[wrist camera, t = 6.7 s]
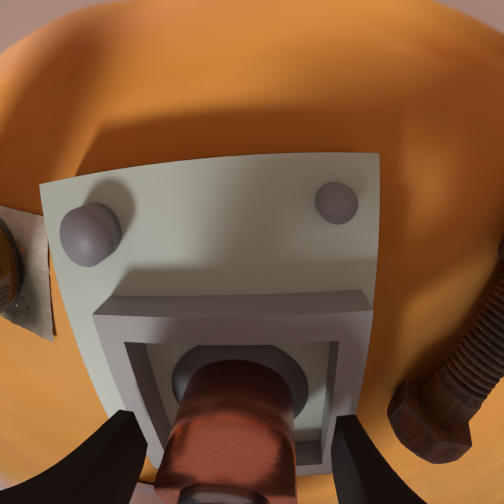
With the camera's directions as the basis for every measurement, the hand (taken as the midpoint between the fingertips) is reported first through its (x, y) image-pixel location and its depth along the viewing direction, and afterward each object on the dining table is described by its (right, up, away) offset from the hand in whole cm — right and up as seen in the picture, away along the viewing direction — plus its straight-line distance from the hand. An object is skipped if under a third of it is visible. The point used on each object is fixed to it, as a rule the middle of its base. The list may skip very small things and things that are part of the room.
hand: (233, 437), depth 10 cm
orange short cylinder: (0, 0, +2) cm, 2 cm away
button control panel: (-1, +3, +4) cm, 5 cm away
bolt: (+13, +4, +4) cm, 14 cm away
